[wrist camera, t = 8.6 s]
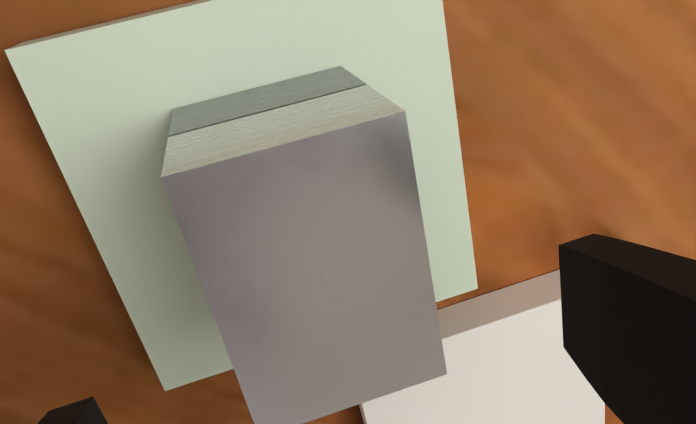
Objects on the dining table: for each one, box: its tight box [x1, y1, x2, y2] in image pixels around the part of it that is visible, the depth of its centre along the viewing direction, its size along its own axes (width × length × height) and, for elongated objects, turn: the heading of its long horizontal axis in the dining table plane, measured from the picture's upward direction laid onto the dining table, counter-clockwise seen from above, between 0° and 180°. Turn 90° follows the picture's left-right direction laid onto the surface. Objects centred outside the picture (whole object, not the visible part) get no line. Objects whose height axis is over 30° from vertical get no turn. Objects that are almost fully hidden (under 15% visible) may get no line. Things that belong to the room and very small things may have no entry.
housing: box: [161, 66, 447, 424], centre depth 13 cm, size 6×4×5 cm
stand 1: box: [4, 0, 478, 391], centre depth 16 cm, size 10×10×2 cm
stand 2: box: [359, 270, 605, 424], centre depth 21 cm, size 9×9×2 cm
